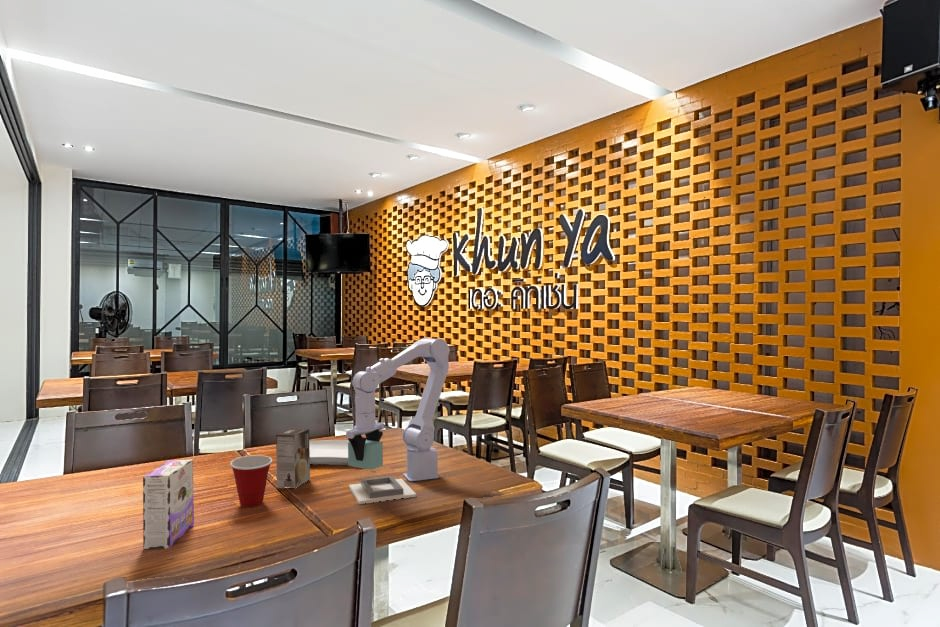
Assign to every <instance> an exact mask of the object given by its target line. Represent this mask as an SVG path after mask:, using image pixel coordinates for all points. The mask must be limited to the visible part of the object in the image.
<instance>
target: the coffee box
mask: <svg viewBox="0 0 940 627" xmlns="http://www.w3.org/2000/svg"><path fill="white" fill-rule="evenodd" d="M275 438H276V439H275V443H276V444H275V445H276V446H275V449H276V451H275V452H276V454H275V455H276V488H277V489H282V488H281V487H290V488H296V487H298V486H300V485H301V484H303V483H304V484H306V483H308V482H309V481H311V465H310V449H309V441H310V429H309V428H290V429H288V430H285V431H282V432H279V433H278V434H276V435H275ZM308 480H309V481H308ZM307 481H308V482H307ZM305 482H306V483H305ZM304 484H303V485H304ZM301 486H302V485H301ZM301 486H300V487H301ZM298 488H299V487H298ZM296 489H297V488H296Z"/></svg>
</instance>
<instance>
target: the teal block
mask: <svg viewBox="0 0 940 627" xmlns="http://www.w3.org/2000/svg"><path fill="white" fill-rule="evenodd" d="M383 445H384V444H383V441H372V440H367V439H366V442H365V446H364V457H363V460H362V461H359V460H356V457H355V453H354V450H353V447H352V445H351V443H350V442H348V465H347V466H348V467H352V468H353V467H354V468H359V469H366V470H375V469H377V468H380V467H383V466H384V460H383V459H384V458H383V457H384V454H383V453H384V452H383V451H384V448H383V447H384V446H383Z"/></svg>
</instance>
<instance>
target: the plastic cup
mask: <svg viewBox="0 0 940 627" xmlns="http://www.w3.org/2000/svg"><path fill="white" fill-rule="evenodd" d="M272 462H273V458H272V457H271V456H268V455H261V454H254V455H253V454H251V455H245V456H240V457H236V458H234V459H233V460H231V461H230V463H229V465H230V467H231V469H232V472H233V475H234V480H235V486H236V492H237V495H238V500H239V504H240V506H241V507H243V506H244V508H252V507H257V506H260V505H262V504H263V501H264V498H265V491H266V488H267V487H266V485H267V480H268V475H269V471H270V466H271V464H272Z"/></svg>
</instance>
